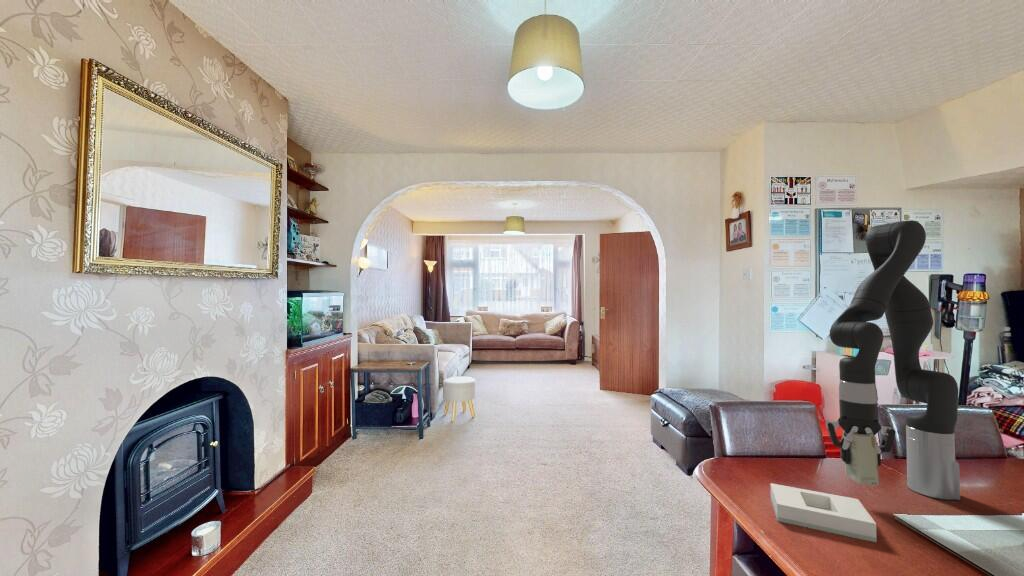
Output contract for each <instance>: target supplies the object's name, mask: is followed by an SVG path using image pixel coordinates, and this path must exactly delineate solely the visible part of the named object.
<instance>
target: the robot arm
mask: <svg viewBox="0 0 1024 576" xmlns="http://www.w3.org/2000/svg"><path fill="white" fill-rule="evenodd" d="M925 229H926V228H925V227H924V226H923V224H921V223H920V222H919V221H917V220H912V219H911V220H910V219H909V220H901V221H896V222H890V223H884V224H880V225H878V224H877V225H874V226H871V227H870V228H868V230H867V231H866V234H865V245H866V249H867V252H868V255H869V258H870V261H871V264H872V268H873V270H874V271H873V272H871V273H870V274H869V275H868V276H867V277H865V279H863V280H862V282H861V283H860V284H859V285H858V286H857V288H856V290H855V292H854V295H853V296H852V297H853V298H852V300H851V302H850V304H849V306H847V307H846V309H844V310H843V312H842V313H841V314H840V315H839V316H838V317H837V318H836V319H835V320H834V321H833V323H832V325H831V326H830V329H829V338H830V340H831V342H832V343H833V344H834V346H837V347H839V348H845V349H857V350H858V351H857V354H856V356H848V357H846V356H845V357H842V358H841V359H840V360H839V365H838V367H839V369H838V370H839V385H838V397H839V399H838V401H839V402H838V404H839V405H838V406H839V418H838V419H837V420H835V421H830V420H826V421H825V426H826V430H827V434H828V436H829V439H830V443H832V445H834V447H838V448H839V450H840V459H841V460H842V462H844V465H845V464H850V462H849V450H848V447H849V445H850V443H851V442H852V440H853V434H856V433H857V434H866V435H869V436H875V437H876V435H877V434H878V433H879V432H880V431H881V434H882V438H881V443H880V444H879V443H878V441H877V440H876V445H877V462H878V467H881V465H882V455H881V454H883V453H890V452H891V451H892V447H893V444H894V439H895V435H896V433H897V432H896V430H895V429H894V428H892V427H891V426H883V425H881V424H880V422H879V403H878V402H879V396H878V389H877V384H876V365H877V361H878V358H879V354H880V351H881V348H882V346H883V341H884V332H883V330H882V328H881V327H880V326H879V325H878V324H876V323H875V322H872V321H878V320H880V319H881V318H883V316H884V315H885V319H886V324H887V327H888V330H889V331H888V332H889V336H890V341H891V346H892V352H893V353H892V354H893V363H894V374H895V382H896V387H897V389H898V392H899V393H900V395H901V396H902V397H903V398H905V399H907V400H910V401H913V402H917V403H921V404H926V409H925V412H922V413H910V414H908V415H906V418H905V424H906V425H905V434H906V435H905V437H906V438H905V439H906V440H905V441H906V482H907V483H906V485H907V488H909V489H910V490H911V491H913V492H915V493H917V494H920V495H924V496H926V497H930V498H934V499H941V500H956V501H957V500H958V501H961V483H960V479H961V478H960V475H961V474H960V463H958V462H957V461H956V448H955V446H956V443H955V442H956V441H955V440H956V439H955V438H956V437H955V427H956V425H957V422H958V407H959V385H958V383H957V380H956V379H955V378H954V376H953V375H951V374H949V373H946V372H942V371H935V370H929V369H928V370H927V369H922V367H921V362H920V350H921V347H922V345H923V343H924V342H925V341H926V339H927V337H928V336H929V334H930V333H931V331H932V329H933V326H934V318H933V313H932V309H931V305H930V304H931V303H930V301H929V299H928V297H927V296H926V295H925V294H924V292H922V291H921V289H919V287H917V286H916V285H915V284H914V283H912V282H911V281H910V280H909V279H908V278H907V277H906V276H905V274H906V273H907V271H908V270H909V269H910V267H912V264H913V263H914V262H915V260H916V259H917V257H918V256H919V254H920V253H921V252H922V249H923V248H924V246H925V244H926V240H927V238H926V237H927V233H926V230H925ZM838 427H840V428H841V429H842V431H843V430H844V433H843V432H842V435H841V440H838V437H837V433H836V431H837V430H838ZM846 433H847V436H846Z"/></svg>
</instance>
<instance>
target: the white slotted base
mask: <svg viewBox="0 0 1024 576" xmlns="http://www.w3.org/2000/svg"><path fill="white" fill-rule="evenodd" d="M769 485H770V501H771V504H772V505H771V506H772V508H773V510H774V511H773V512H774V514H775V517H776V520H777V522H781V523H785V524H789V525H792V526H793V525H794V526H800V527H803V528H807V527H808V528H807V529H812V530H817V531H822V532H826V533H831V534H836V535H840V536H845V537H849V538H854V539H859V540H863V541H868V542H872V543H877V541H878V540H877V539H878V538H877V523H876V522H875V520H874V519H873V517H872V515H870V513H869V512H868V511H867V509H866V508H865V506H864V505H863V504H862V502H861V501H860V500H859V499H858V498H854V497H850V496H849V497H848V496H844V495H843V496H842V495H839V494H838V495H837V494H831V493H827V492H822V491H821V492H820V491H816V490H809V489H804V488H799V487H793V486H787V485H782V484H776V483H772V482H771V483H769Z"/></svg>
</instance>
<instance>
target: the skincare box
mask: <svg viewBox="0 0 1024 576" xmlns="http://www.w3.org/2000/svg"><path fill="white" fill-rule="evenodd" d="M843 433H844V430H843V429H842V434H843ZM846 436H847V433H846ZM876 441H877V437H876V435H875V436H869V435H866V434H857V433H856V434H853V440H852V442H851V443H850V445H849V447H848V450H849V462H850V464H845V463H844V474H845V476H847V477H848V478H849V479H850V480H852V481H854V482H855V483H857V484H858V485H860V486H861V485H862V486H874V487H875V486H876V487H878V486H879V485H880V484H879V482H880V481H879V480H880V479H879V466H878V462H877V445H876Z"/></svg>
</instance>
